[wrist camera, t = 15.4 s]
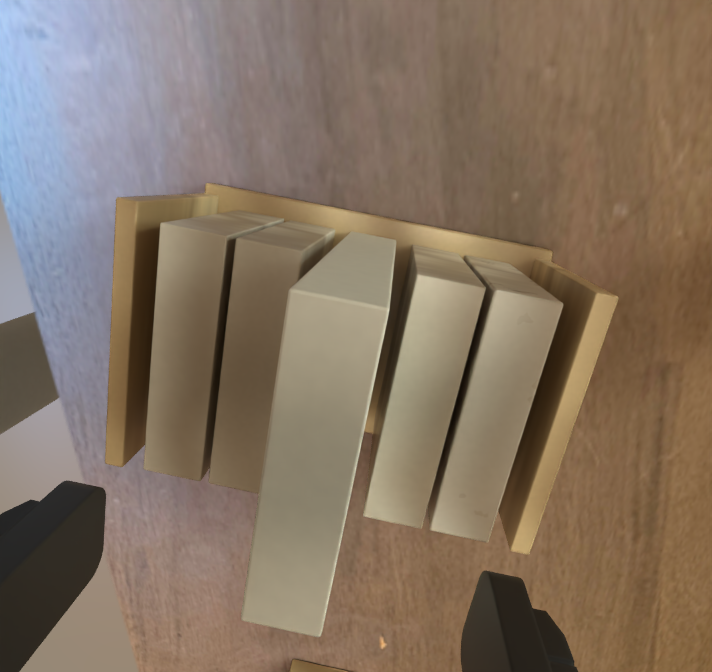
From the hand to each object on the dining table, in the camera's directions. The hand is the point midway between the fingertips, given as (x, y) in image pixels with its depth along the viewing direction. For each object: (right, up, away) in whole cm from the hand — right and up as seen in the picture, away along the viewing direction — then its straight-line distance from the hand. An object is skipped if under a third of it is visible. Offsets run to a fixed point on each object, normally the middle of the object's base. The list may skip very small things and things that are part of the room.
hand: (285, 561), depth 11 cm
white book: (+1, +5, +17) cm, 18 cm away
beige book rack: (+2, +5, +18) cm, 19 cm away
